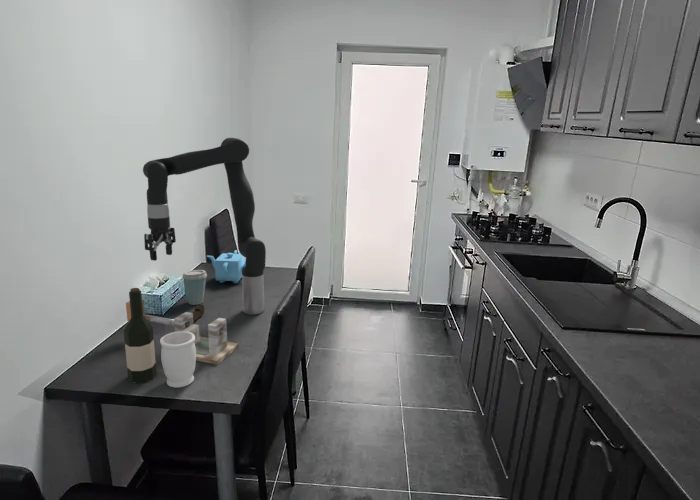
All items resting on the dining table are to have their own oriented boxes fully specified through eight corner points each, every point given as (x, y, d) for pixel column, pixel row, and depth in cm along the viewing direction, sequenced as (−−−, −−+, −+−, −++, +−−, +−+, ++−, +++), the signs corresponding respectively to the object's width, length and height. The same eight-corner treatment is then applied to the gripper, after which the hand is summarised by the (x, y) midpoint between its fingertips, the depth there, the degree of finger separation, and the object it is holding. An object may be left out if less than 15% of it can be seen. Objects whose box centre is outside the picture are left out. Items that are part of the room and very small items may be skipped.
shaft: (134, 319, 176) (132, 299, 174) (187, 329, 169) (186, 308, 167) (127, 322, 172) (125, 302, 170) (181, 333, 166) (180, 312, 164)
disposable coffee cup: (178, 304, 209) (176, 272, 205) (194, 296, 218) (193, 266, 214) (197, 308, 205) (196, 276, 201) (213, 300, 214) (211, 269, 211)
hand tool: (186, 331, 182) (185, 320, 181) (177, 330, 183) (176, 319, 182) (210, 313, 200) (209, 303, 199) (201, 312, 201) (201, 302, 200)
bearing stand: (187, 337, 177) (186, 307, 173) (238, 347, 170) (237, 316, 167) (163, 353, 164) (161, 321, 160) (217, 364, 157) (215, 331, 154)
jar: (168, 372, 152) (165, 330, 148) (200, 372, 152) (198, 330, 149) (158, 390, 141) (155, 346, 137) (193, 389, 142) (190, 345, 138)
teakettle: (224, 288, 231) (223, 260, 228) (206, 278, 244) (204, 252, 240) (256, 280, 244) (255, 254, 241) (237, 272, 257) (236, 246, 253)
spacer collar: (194, 340, 171) (193, 324, 169) (199, 341, 170) (198, 325, 169) (183, 347, 165) (182, 331, 163) (188, 348, 164) (187, 332, 163)
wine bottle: (162, 372, 151) (155, 286, 144) (143, 385, 144) (135, 295, 136) (141, 367, 154) (134, 283, 146) (122, 380, 146) (113, 291, 138)
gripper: (153, 219, 163) (157, 263, 167) (179, 213, 176) (182, 253, 181) (136, 218, 165) (140, 261, 170) (163, 211, 178) (166, 251, 183)
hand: (161, 257), depth 175 cm, fingers open, 8 cm apart
